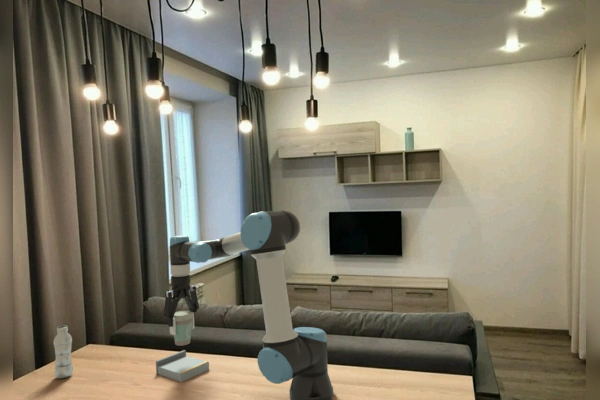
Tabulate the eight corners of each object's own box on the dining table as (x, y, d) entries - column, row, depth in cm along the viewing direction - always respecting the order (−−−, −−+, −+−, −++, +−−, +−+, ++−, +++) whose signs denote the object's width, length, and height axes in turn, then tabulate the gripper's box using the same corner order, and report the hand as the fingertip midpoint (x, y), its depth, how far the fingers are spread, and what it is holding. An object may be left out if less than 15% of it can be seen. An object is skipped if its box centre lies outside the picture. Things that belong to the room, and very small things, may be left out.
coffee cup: (187, 347, 173) (186, 316, 173) (167, 346, 174) (166, 315, 174) (197, 340, 181) (196, 310, 181) (177, 339, 183) (176, 310, 183)
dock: (209, 369, 179) (208, 357, 179) (181, 382, 168) (180, 368, 168) (184, 361, 188) (183, 350, 188) (156, 373, 177) (155, 360, 177)
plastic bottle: (50, 379, 175) (48, 328, 174) (66, 372, 181) (64, 323, 180) (61, 381, 172) (59, 330, 171) (77, 375, 178) (75, 325, 177)
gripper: (195, 269, 188) (196, 322, 189) (151, 278, 171) (153, 337, 171) (207, 271, 184) (208, 325, 184) (164, 280, 166) (166, 340, 167)
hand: (182, 331), depth 178 cm, fingers closed on coffee cup, 8 cm apart
